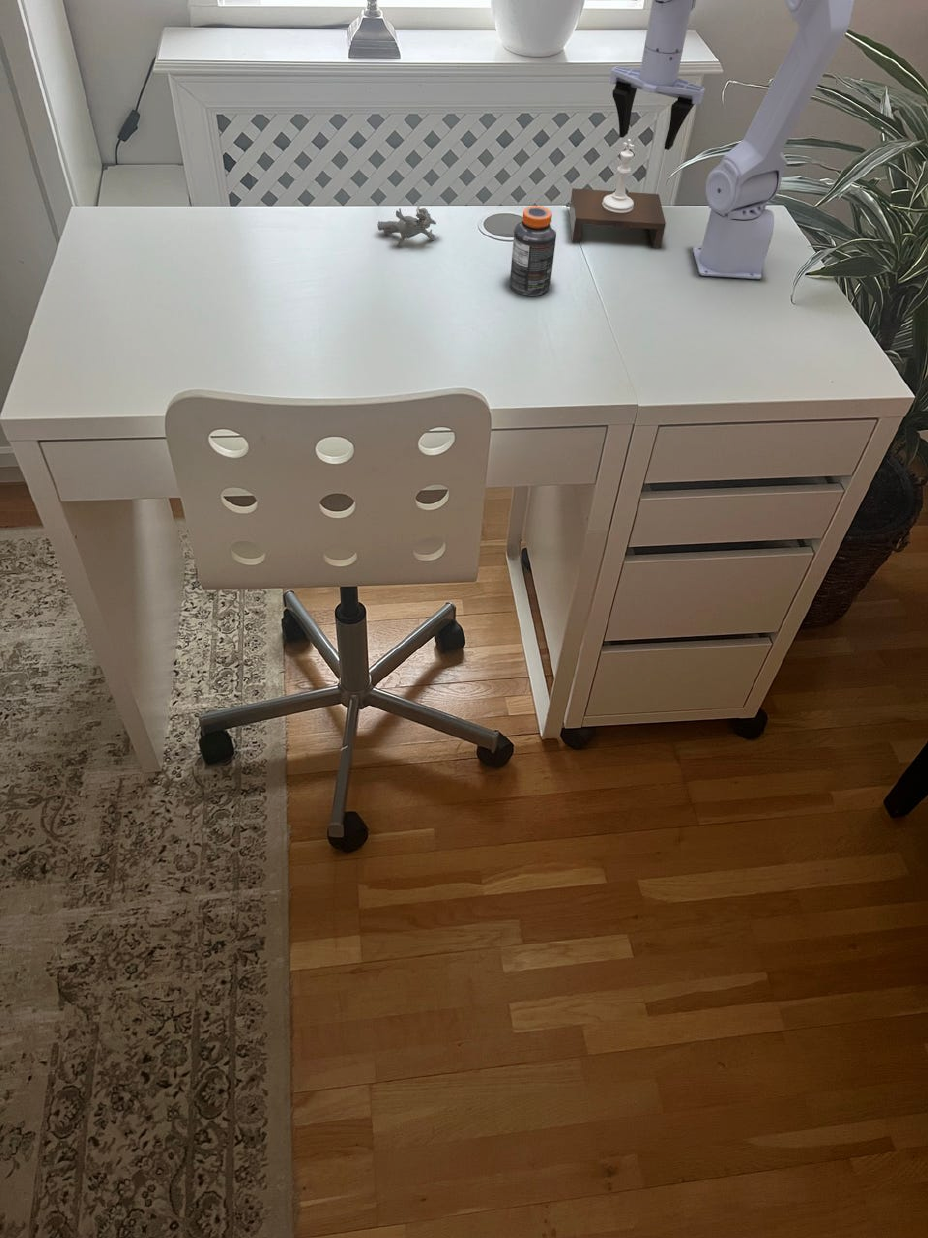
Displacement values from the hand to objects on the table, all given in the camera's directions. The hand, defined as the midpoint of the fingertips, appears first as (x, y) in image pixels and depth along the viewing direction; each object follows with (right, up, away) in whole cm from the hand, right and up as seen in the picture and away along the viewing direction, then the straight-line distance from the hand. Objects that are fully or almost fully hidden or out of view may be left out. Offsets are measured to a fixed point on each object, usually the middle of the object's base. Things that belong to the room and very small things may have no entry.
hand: (645, 141), depth 153 cm
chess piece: (-5, -11, -1) cm, 12 cm away
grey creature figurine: (-38, -18, -5) cm, 42 cm away
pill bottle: (-19, -27, -11) cm, 35 cm away
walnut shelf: (-5, -13, +2) cm, 14 cm away
